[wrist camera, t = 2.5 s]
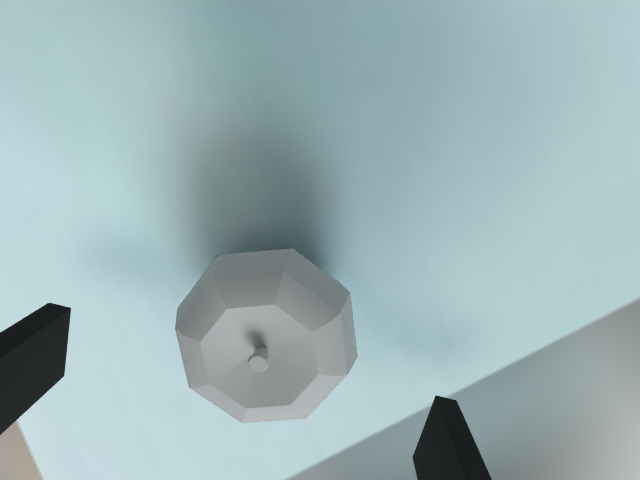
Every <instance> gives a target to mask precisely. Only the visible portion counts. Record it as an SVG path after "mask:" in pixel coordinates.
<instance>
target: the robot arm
mask: <svg viewBox="0 0 640 480" xmlns="http://www.w3.org/2000/svg"><path fill="white" fill-rule="evenodd" d="M70 312H71V308H69V307H65V306H61V305H56V304H52V303H48V304H46V305H44V306H43V307H41V308H40V309H38V310H36V311H35V312H33V313H32V314H30V315H28V316H27V317H25V318H23V319H22V320H20V321H19V322H17V323H15V324H14V325H12V326H10V327H9V328H7V329H6V330H4V331H2V332H1V333H0V435H1V434H2V433H3V432H4V431H5V430H6V429H7V428H8V427H9V426H10V425H12V423H14V422H15V421H16V420H17V419H18V418H19V417H20V416H21V415H22V414H23V413H25V412H26V411H27V410H28V409H29V408H30V407H31V406H32V405H33V404H34V403H35V402H36V401H38V400H39V399H40V398H41V397H42V396H43V395H44V394H45V393H46V392H47V391H48V390H49V389H51V388H52V387H53V386H54V385H55V384H56V383H57V382H58V381H59V380H60V379H61V378H62V377H64V373H65V363H66V353H67V343H68V332H69V322H70ZM413 461H414V466H415V470H416V474H417V478H418V480H492V479H491V477H490V475H489V472H488V470H487V469H486V466H485V464H484V461H483V459H482V457H481V455H480V452H479V450H478V448H477V446H476V443H475V441H474V439H473V437H472V434H471V432H470V430H469V428H468V426H467V423H466V421H465V419H464V416H463V414H462V412H461V410H460V407H459V405H458V403H457V401H456V400H452V399H448V398H444V397H440V396H435V399H434V401H433V404H432V407H431V410H430V412H429V415H428V418H427V420H426V423H425V426H424V428H423V431H422V434H421V436H420V439H419V442H418V444H417V447H416V450H415V453H414V455H413Z"/></svg>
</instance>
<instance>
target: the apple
mask: <svg viewBox="0 0 640 480" xmlns="http://www.w3.org/2000/svg"><path fill="white" fill-rule="evenodd" d="M175 330H176V334H177V338H178V342H179V347H180V351H181V355H182V359H183V364H184V368H185V372H186V376H187V381H188V385H189V388H190V389H192V390H193V391H195V392H196V393H198V394H199V395H201V396H202V397H204V398H205V399H207V400H208V401H210V402H211V403H213V404H214V405H216V406H217V407H219V408H220V409H222V410H223V411H225V412H226V413H228V414H229V415H231V416H232V417H234V418H235V419H237V420H238V421H240V422H241V423H253V422H266V421H280V420H293V419H306V418H307V417H308V416H309V415H310V414H311V413H312V412H313V411H314V410H315V409H316V408H317V407H318V405H319V404H320V403H321V402H322V401H323V400H324V399H325V398H326V397H327V396H328V395H329V394H330V393H331V392H332V391H333V389H334V388H335V387H336V386H337V385H338V384H339V383H340V382H341V381H342V380H343V379H344V378H345V377H346V376H347V375H348V373H349V371H350V369H351V367H352V366H353V364H354V362H355V360H356V358H357V349H356V340H355V331H354V323H353V314H352V305H351V296H350V292H349V291H348V290H347V289H346V288H345V287H344V286H343V285H342V284H341V283H339V282H338V281H337V280H336V279H334V278H333V277H331V276H330V275H329V274H327V273H326V272H325V271H323V270H322V269H320V268H319V267H318V266H316V265H315V264H314V263H312V262H311V261H309V260H308V259H307V258H305V257H304V256H303V255H301V254H300V253H298V252H297V251H296V250H294V249H293V248H289V249H277V250H265V251H254V252H242V253H232V254H226V255H219V256H217V257H216V258H215V260H214V261H213V262H212V264H211V265H210V266H209V268H208V269H207V270H206V271H205V273H204V274H203V275H202V277H201V278H200V279H199V281H198V282H197V283H196V285H195V286H194V287H193V289H192V290H191V291H190V292H189V294H188V295H187V296H186V298H185V299H184V300H183V302H182V303H181V304H180V306H179V307H178V309H177V317H176V325H175Z"/></svg>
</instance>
